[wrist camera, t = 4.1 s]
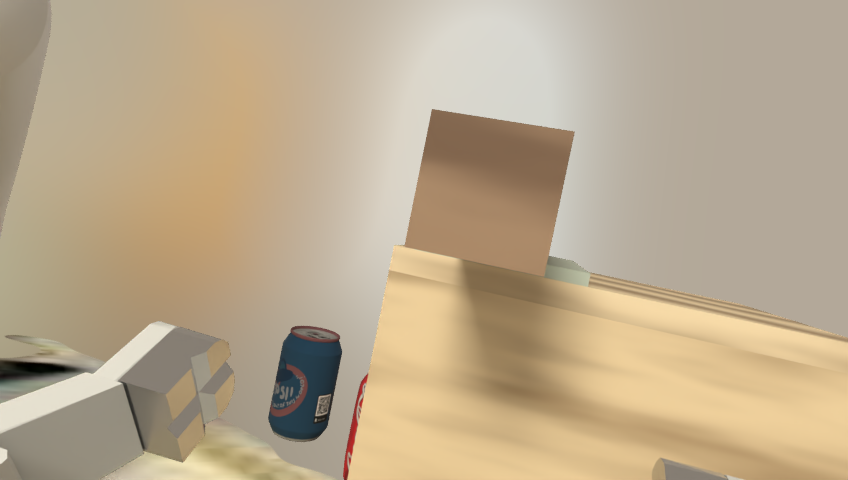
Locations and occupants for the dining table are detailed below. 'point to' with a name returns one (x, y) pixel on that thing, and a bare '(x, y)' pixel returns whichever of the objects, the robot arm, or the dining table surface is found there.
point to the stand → (590, 381)
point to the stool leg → (489, 191)
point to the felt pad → (561, 271)
